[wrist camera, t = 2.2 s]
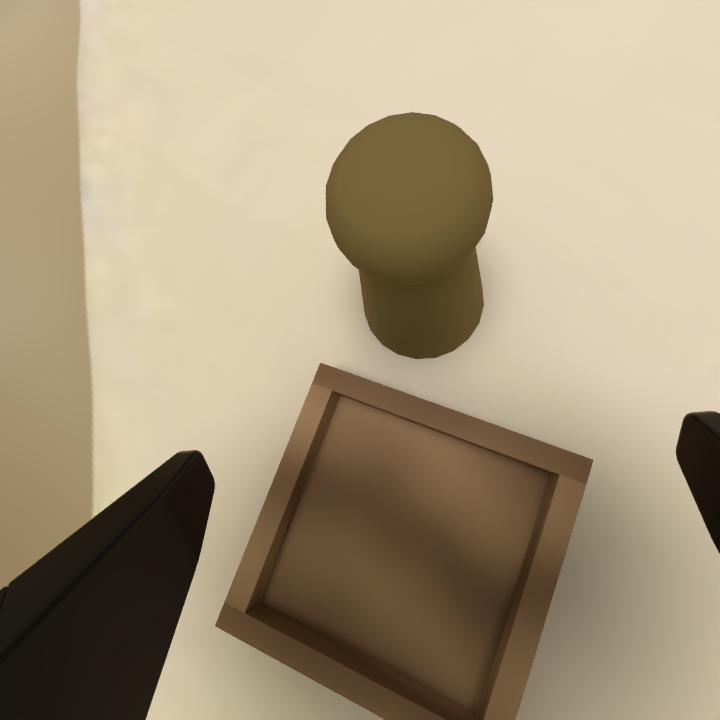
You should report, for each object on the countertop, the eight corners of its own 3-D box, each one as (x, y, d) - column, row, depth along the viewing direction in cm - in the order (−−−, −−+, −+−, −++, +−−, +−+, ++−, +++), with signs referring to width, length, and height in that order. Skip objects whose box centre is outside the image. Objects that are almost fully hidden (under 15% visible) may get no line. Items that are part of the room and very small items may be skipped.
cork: (344, 284, 24) (265, 147, 14) (443, 225, 24) (440, 40, 14) (400, 381, 23) (358, 309, 12) (507, 319, 22) (561, 191, 12)
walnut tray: (490, 739, 19) (496, 780, 16) (240, 607, 22) (215, 625, 19) (576, 460, 20) (593, 459, 18) (333, 372, 23) (320, 362, 21)
